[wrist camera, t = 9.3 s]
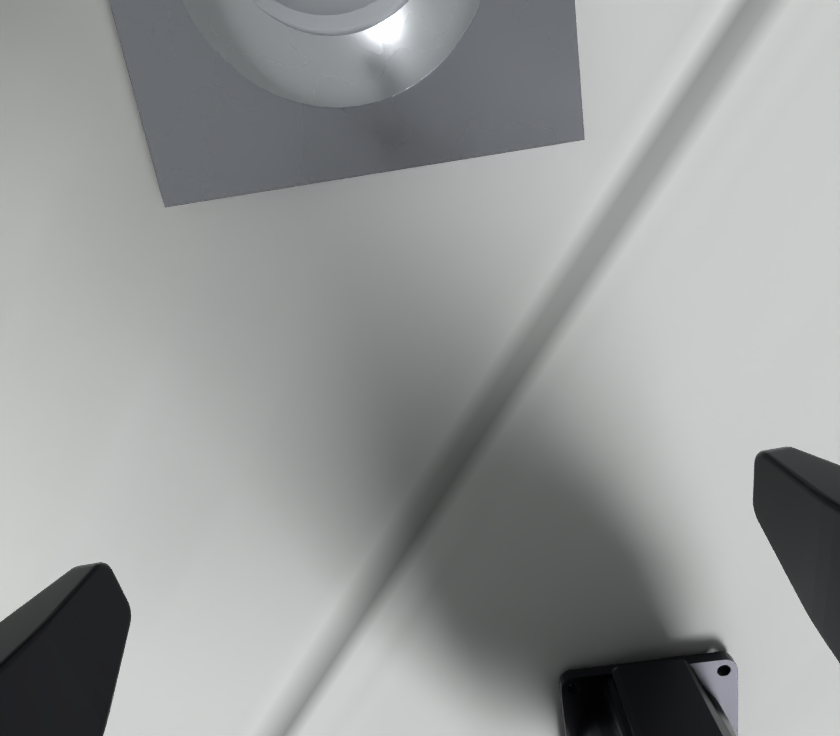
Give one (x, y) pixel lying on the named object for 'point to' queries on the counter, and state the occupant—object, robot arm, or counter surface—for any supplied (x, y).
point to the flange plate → (343, 90)
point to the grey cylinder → (330, 14)
